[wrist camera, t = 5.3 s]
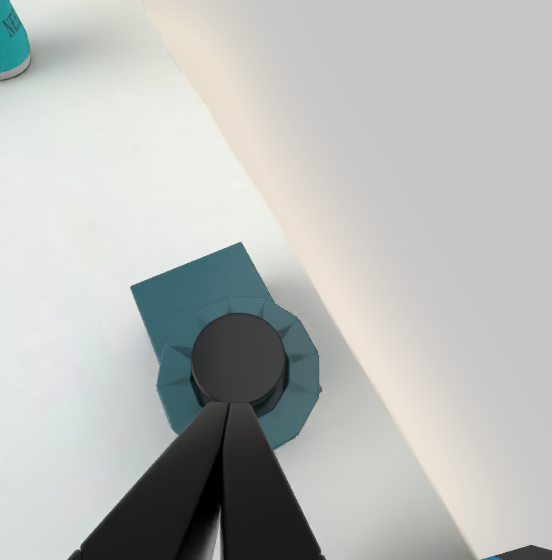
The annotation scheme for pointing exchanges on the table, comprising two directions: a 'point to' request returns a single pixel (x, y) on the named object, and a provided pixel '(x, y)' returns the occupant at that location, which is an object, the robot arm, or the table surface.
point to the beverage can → (12, 43)
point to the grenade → (524, 554)
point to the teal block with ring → (204, 309)
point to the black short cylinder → (238, 359)
